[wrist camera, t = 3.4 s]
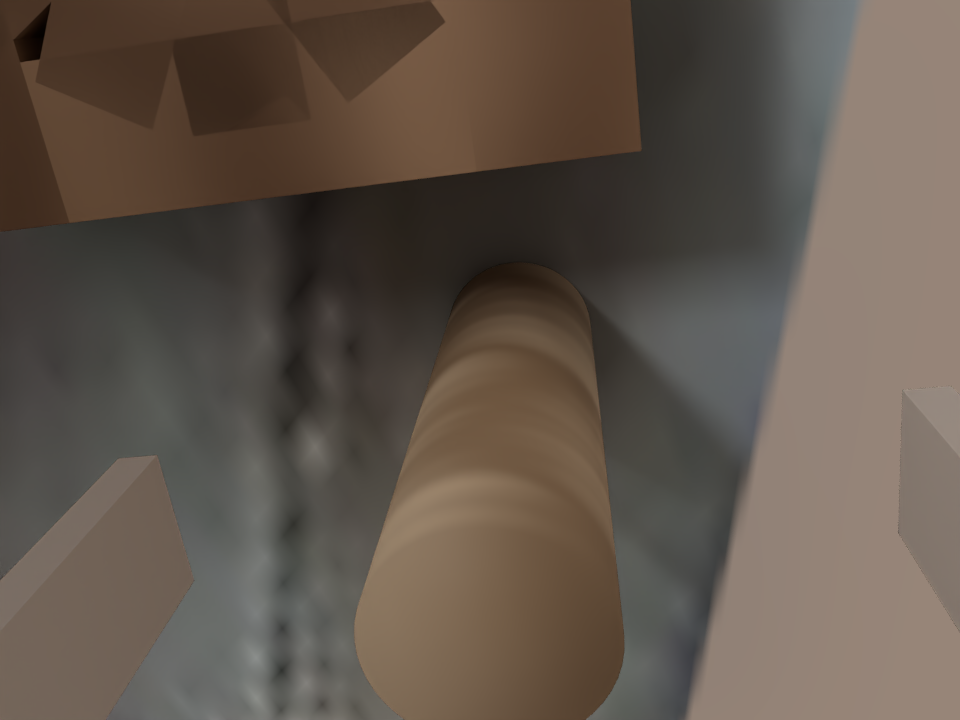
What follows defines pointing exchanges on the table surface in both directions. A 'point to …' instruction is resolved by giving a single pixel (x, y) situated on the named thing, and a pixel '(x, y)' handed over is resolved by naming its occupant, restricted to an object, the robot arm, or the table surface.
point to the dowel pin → (500, 521)
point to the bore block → (295, 97)
